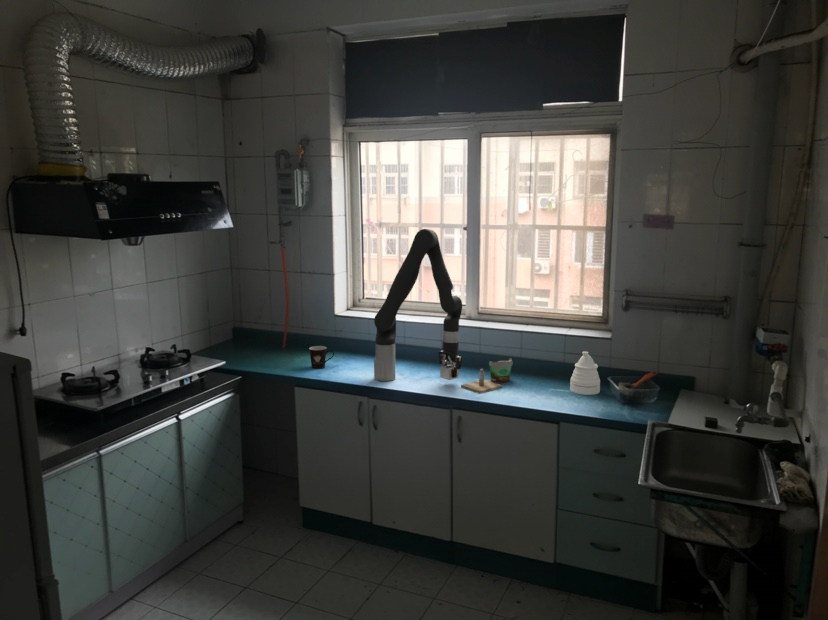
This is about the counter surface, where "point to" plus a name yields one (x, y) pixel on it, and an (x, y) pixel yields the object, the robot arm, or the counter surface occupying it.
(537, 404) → the counter surface
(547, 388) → the counter surface
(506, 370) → the food container
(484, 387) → the block
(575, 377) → the honey pot
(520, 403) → the counter surface
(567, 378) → the counter surface
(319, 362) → the coffee mug
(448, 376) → the grey square sleeve
